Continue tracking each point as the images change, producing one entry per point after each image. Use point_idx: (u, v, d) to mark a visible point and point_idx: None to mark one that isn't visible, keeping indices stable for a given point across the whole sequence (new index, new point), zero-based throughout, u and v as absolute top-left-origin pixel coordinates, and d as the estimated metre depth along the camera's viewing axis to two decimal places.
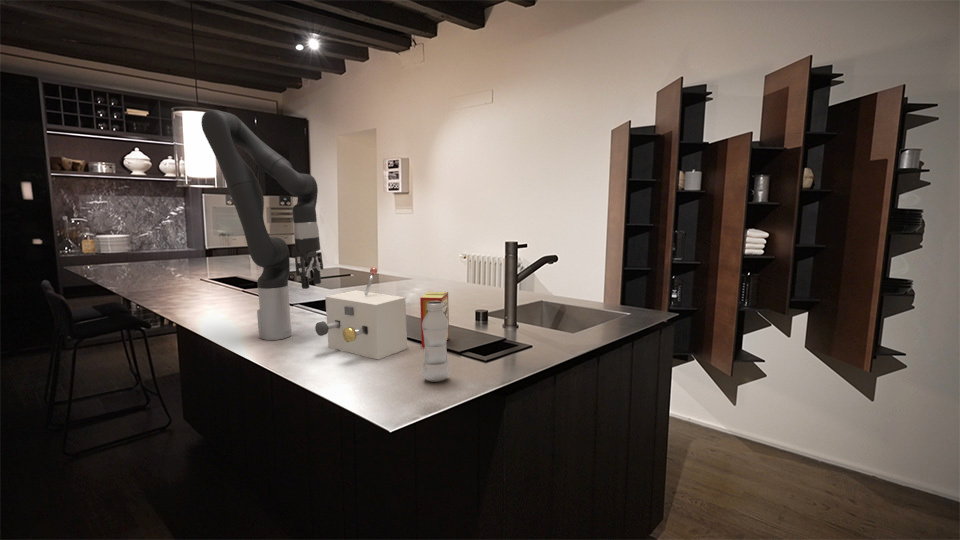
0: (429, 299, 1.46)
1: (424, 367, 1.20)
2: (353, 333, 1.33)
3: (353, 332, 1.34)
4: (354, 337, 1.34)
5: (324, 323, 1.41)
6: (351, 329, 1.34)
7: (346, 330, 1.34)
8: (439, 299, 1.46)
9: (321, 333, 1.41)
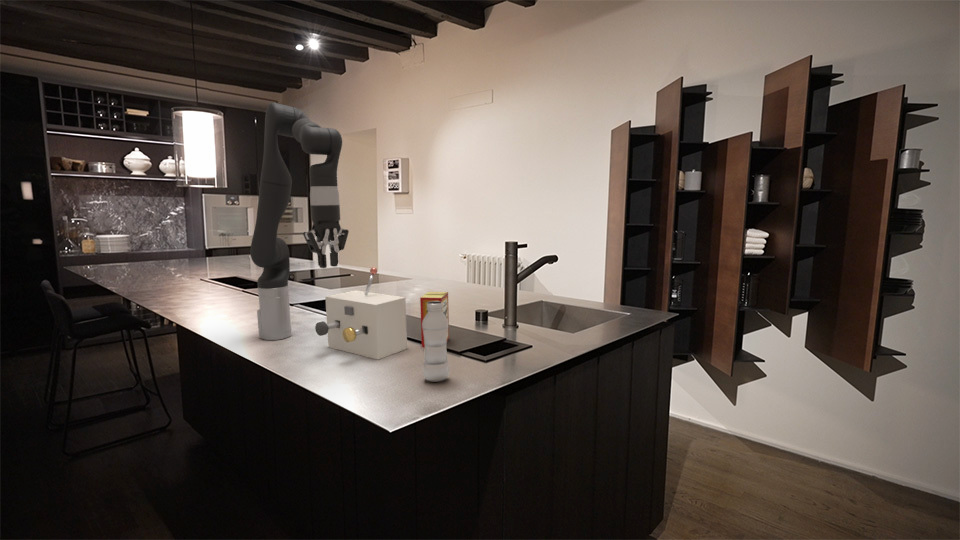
0: (429, 299, 1.46)
1: (424, 367, 1.20)
2: (353, 333, 1.33)
3: (353, 332, 1.34)
4: (354, 337, 1.34)
5: (324, 323, 1.41)
6: (351, 329, 1.34)
7: (346, 330, 1.34)
8: (439, 299, 1.46)
9: (321, 333, 1.41)
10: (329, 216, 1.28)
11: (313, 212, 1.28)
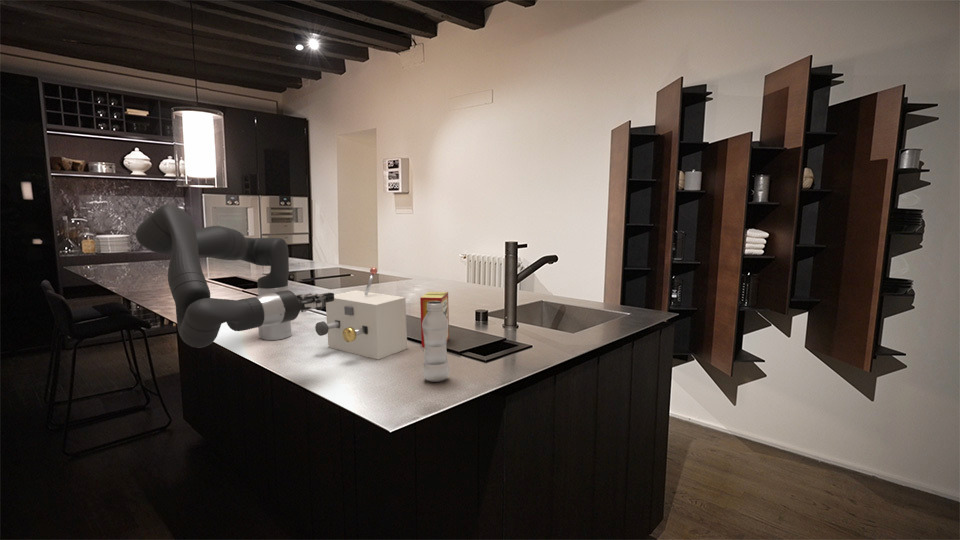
0: (429, 299, 1.46)
1: (424, 367, 1.20)
2: (353, 333, 1.33)
3: (353, 332, 1.34)
4: (354, 337, 1.34)
5: (324, 323, 1.41)
6: (351, 329, 1.34)
7: (346, 330, 1.34)
8: (439, 299, 1.46)
9: (321, 333, 1.41)
10: None
11: None
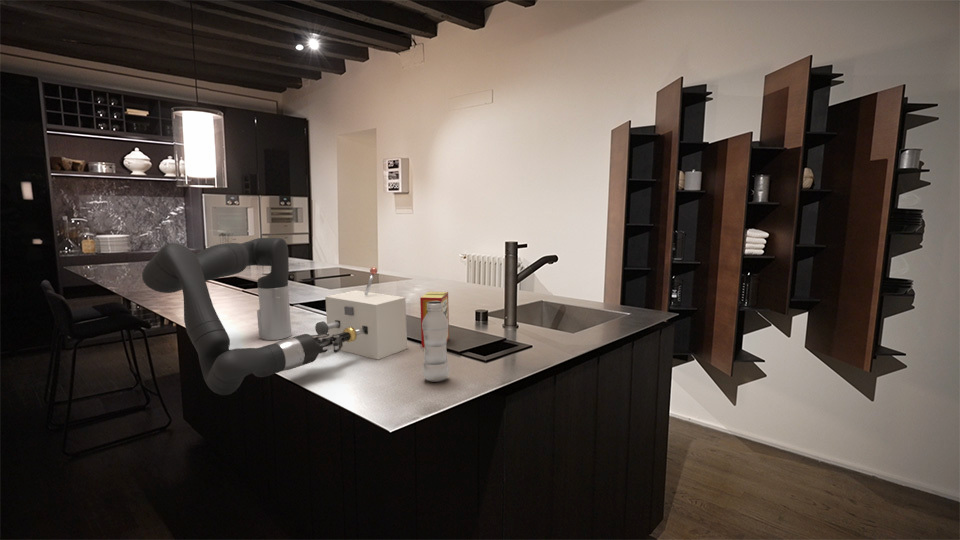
0: (429, 299, 1.46)
1: (424, 367, 1.20)
2: (353, 333, 1.34)
3: (353, 332, 1.34)
4: (354, 337, 1.34)
5: (324, 323, 1.41)
6: (351, 329, 1.34)
7: (346, 330, 1.34)
8: (439, 299, 1.46)
9: (321, 333, 1.41)
10: None
11: None
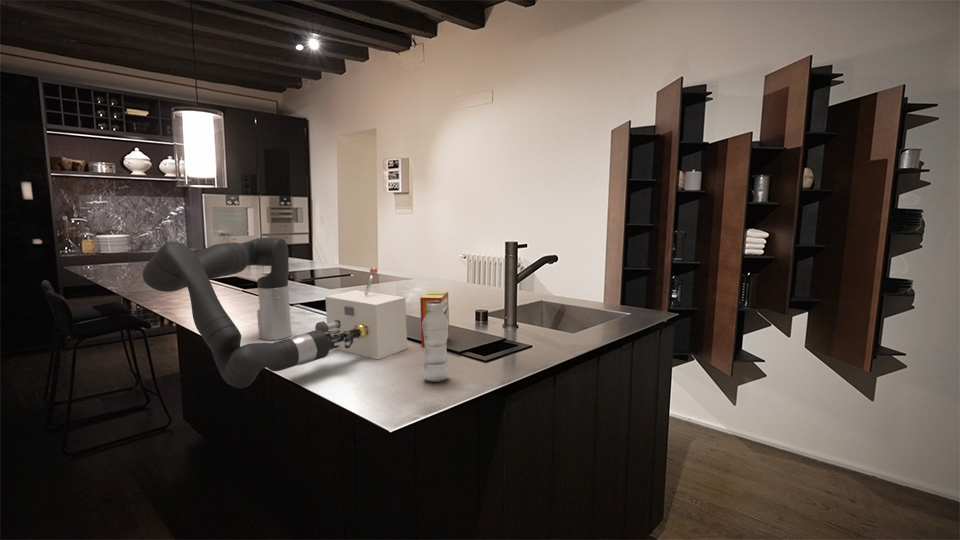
0: (429, 299, 1.46)
1: (424, 367, 1.20)
2: (364, 330, 1.37)
3: (364, 329, 1.37)
4: (365, 334, 1.37)
5: (324, 323, 1.41)
6: (362, 326, 1.37)
7: (357, 327, 1.37)
8: (439, 299, 1.46)
9: None
10: None
11: None
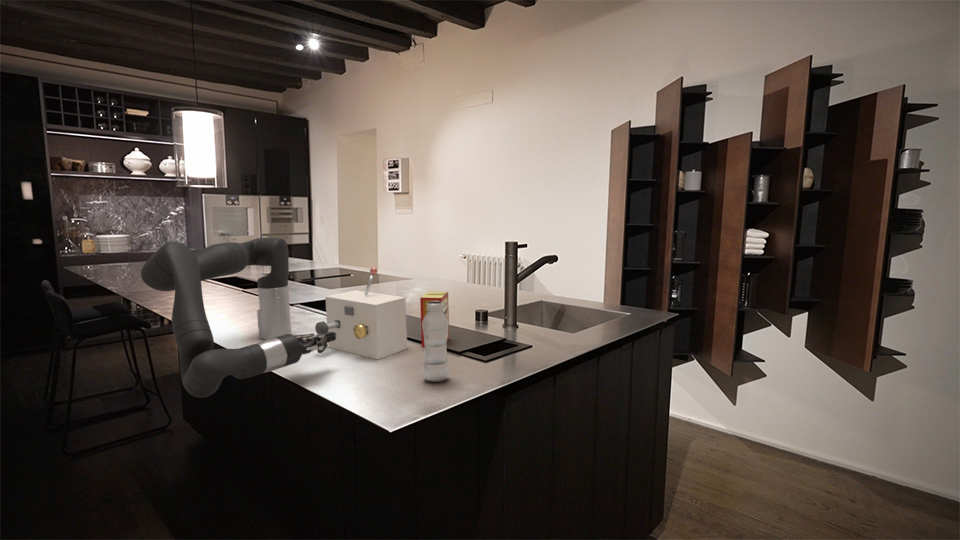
0: (429, 299, 1.46)
1: (424, 367, 1.20)
2: (364, 330, 1.37)
3: (364, 329, 1.37)
4: (365, 334, 1.37)
5: (324, 323, 1.41)
6: (362, 326, 1.37)
7: (357, 327, 1.37)
8: (439, 299, 1.46)
9: (321, 333, 1.41)
10: None
11: None
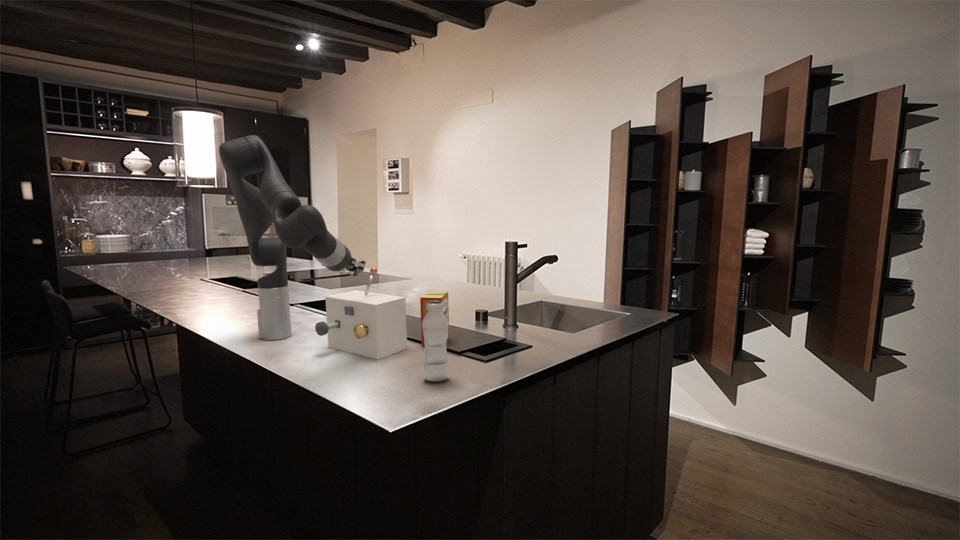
0: (429, 299, 1.46)
1: (424, 367, 1.20)
2: (364, 330, 1.37)
3: (364, 329, 1.37)
4: (365, 334, 1.37)
5: (324, 323, 1.41)
6: (362, 326, 1.37)
7: (357, 327, 1.37)
8: (439, 299, 1.46)
9: (321, 333, 1.41)
10: (327, 268, 1.27)
11: None
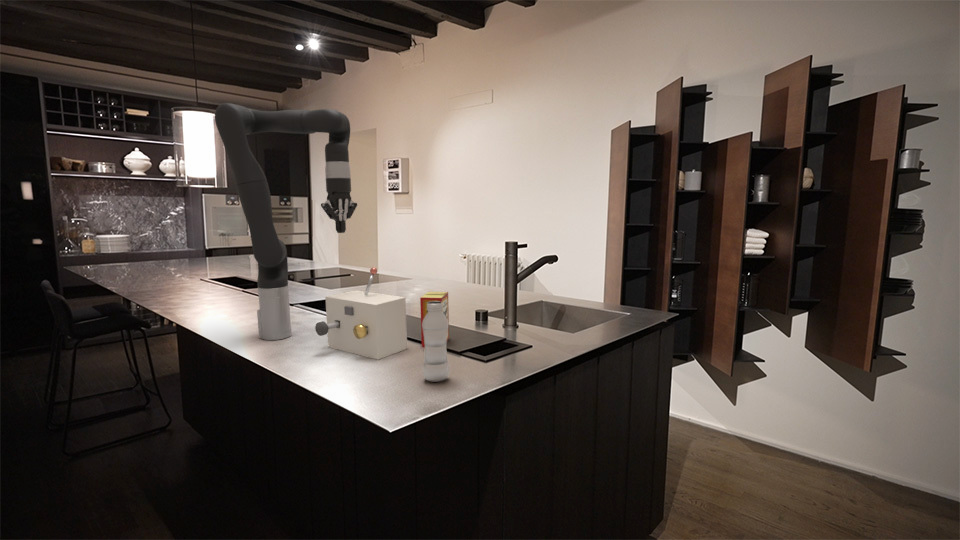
0: (429, 299, 1.46)
1: (424, 367, 1.20)
2: (364, 330, 1.37)
3: (364, 329, 1.37)
4: (365, 334, 1.37)
5: (324, 323, 1.41)
6: (362, 326, 1.37)
7: (357, 327, 1.37)
8: (439, 299, 1.46)
9: (321, 333, 1.41)
10: (342, 187, 1.48)
11: (328, 184, 1.48)
